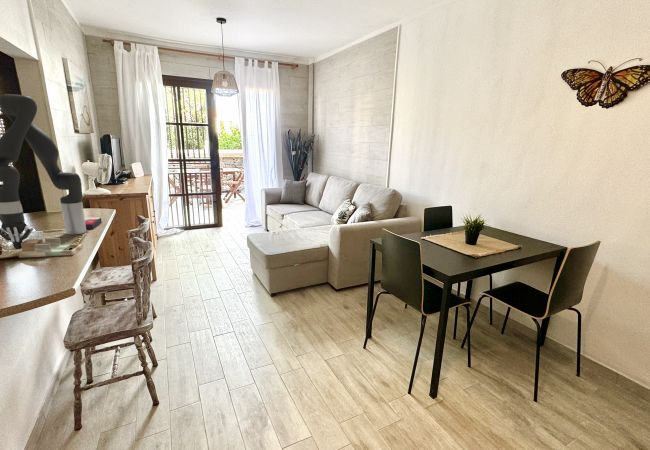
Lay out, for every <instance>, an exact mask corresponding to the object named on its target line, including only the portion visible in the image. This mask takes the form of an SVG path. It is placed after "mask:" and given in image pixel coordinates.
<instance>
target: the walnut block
mask: <svg viewBox="0 0 650 450" xmlns="http://www.w3.org/2000/svg"><path fill="white" fill-rule="evenodd" d="M35 244H44V241H43V238H33V239H25V241H24V240H23V241H22V243H21V246H22V251H23V252H26V251H35V247H34V245H35ZM22 251H21V252H22Z"/></svg>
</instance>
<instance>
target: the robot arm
mask: <svg viewBox="0 0 650 450" xmlns="http://www.w3.org/2000/svg"><path fill="white" fill-rule="evenodd" d="M0 108H1V110H2V112H3V113H4V114H5V115H6V117H7V118H8V119H9V120H10V121H11V123H12V124H11V126H9V128H8V129H7V130H6V131H5V132H4V133H3V134H2V136H1V137H0V182H1V183H2V186H1V187H0V222H1V226H0V237H2V239H5V240H6V241H7V242H8V241H11V242H12V245H13V248H14V249H15V250H21V249H22V246H21V243H22V242H23V241H24V240H27V238H28V237H29V236H30V235H31V233H32V232H33V231H34V227H29V226H27V224H26V223H25V220H26V219H25V215H24V209H23V207H22V206H23V205H22V203H21V199H20V196H19V187H20V181H21V175H20V172H19V170H18V169H17V167H15V166H12V165H10V164H12V163H15V162H17V161H19V158H20V155H21V149H22V145H23V142H24V141H26V142H27V144H28V146H29V147H30V148H31V150H32V151H33V153H34V154H35V156H36V157H37V158H38V160H39V161H40V163H41V165H42V166H43V168H44V169H45V171H46V173H47V175H48V177H49V179H50V181H51V182H52V184H53V186H54V187H55V188H56V189H58V190H62V191H64V190H65V191H68V194H67V195H64V196H61V197H60V201H59V202H60V206H61V212H62V217H63V225H64V230H65V234H66V235H68V236H69V235H73V236H74V235H81V234H85V233H87V231H88V230H86V224H85V218H86V217H85V212H84V206H83V205H84V204H83V189H82V187H83V186H82V185H83V184H82V180H81V179H82V178H81V177H80V175H79V174H78V173H77V172H65V171H64V172H63V171H62V170H61V169H60V167H59V165H58V159H59V150H58V146H56V144H55V142H54V140H53V139H52V137H51V136H49V135H48V134H47V133H46V132H44V131H43V130H42V129H40V127H38V126H37V125H35V124H34V123H33V121H34V119H35V117H36V116H37V115H36V114H37V112H38V105H37V102H36V100H35V99H34V98H32V97H31V96H28V95H23V94H13V93H12V94H10V93H5V94H1V95H0ZM24 139H25V140H24ZM23 232H24V234H23Z"/></svg>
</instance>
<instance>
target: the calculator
mask: <svg viewBox="0 0 650 450" xmlns="http://www.w3.org/2000/svg"><path fill="white" fill-rule="evenodd" d="M85 224H86V230H87V231H88V230H94V229H96V228H98V227H99V225H101V224H103V223H102V218H101V217H85Z"/></svg>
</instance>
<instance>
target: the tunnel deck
mask: <svg viewBox="0 0 650 450" xmlns="http://www.w3.org/2000/svg"><path fill="white" fill-rule="evenodd" d="M44 240H45V241H44V242H45V243H43V244H35V245H34V247H35V251H26V252H23V251H20V252H19V253H17V254H18V258H20V259H21V258H35V257H36V258H38V257H57V256H74V255H76V254H77V253H79V252H80V251H81V250H83V247H84V244H83V243H75V244H74V243H73V244H62V243H61V238H60V237H53V238H52V237H50V238H48V237H47V238H45V239H44ZM69 248H72V249H70V250H69Z"/></svg>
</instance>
